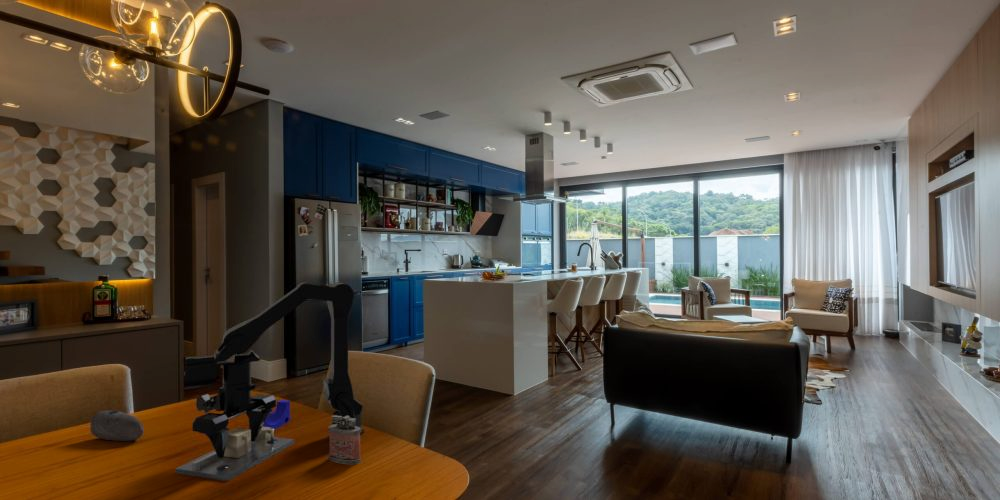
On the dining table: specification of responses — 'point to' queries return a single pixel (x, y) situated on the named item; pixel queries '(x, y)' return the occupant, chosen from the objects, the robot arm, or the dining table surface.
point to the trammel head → (238, 443)
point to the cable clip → (278, 415)
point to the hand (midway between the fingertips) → (237, 449)
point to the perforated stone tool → (116, 426)
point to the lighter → (344, 440)
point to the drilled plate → (231, 466)
